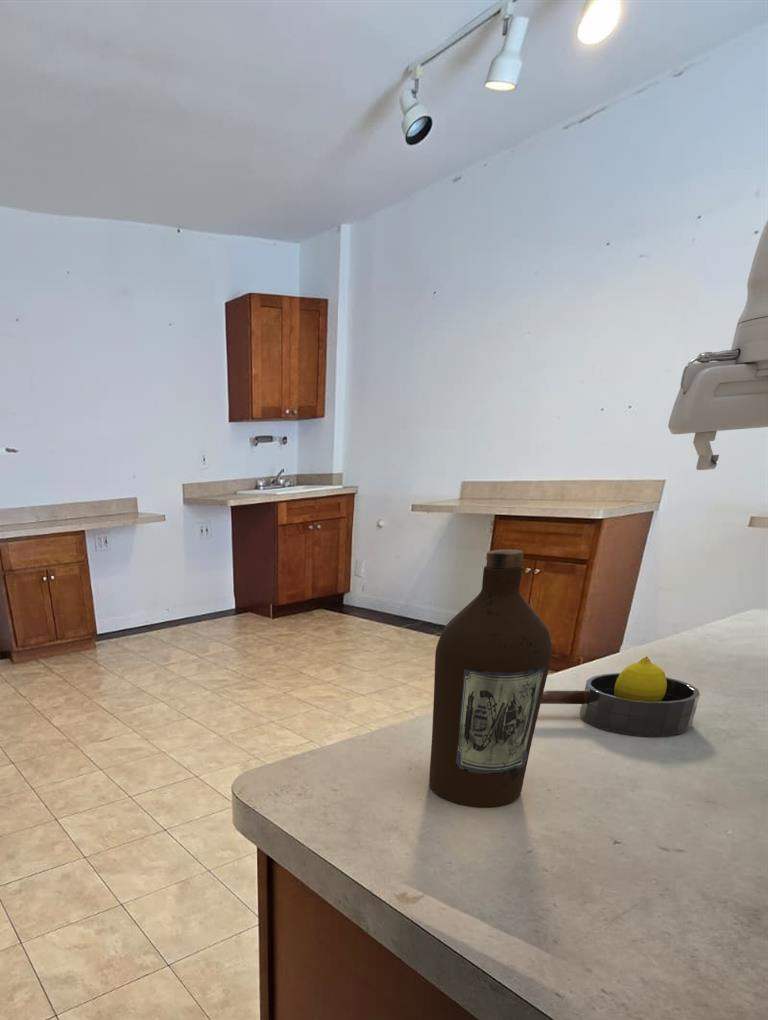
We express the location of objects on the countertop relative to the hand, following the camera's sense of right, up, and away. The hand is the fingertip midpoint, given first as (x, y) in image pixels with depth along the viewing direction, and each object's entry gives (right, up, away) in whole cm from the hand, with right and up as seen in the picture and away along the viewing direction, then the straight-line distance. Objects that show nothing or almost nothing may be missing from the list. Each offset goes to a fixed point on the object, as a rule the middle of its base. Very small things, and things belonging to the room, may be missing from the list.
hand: (742, 466), depth 86 cm
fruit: (-16, -34, -2) cm, 38 cm away
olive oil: (-43, -43, -16) cm, 63 cm away
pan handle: (-27, -32, 0) cm, 42 cm away
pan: (-16, -34, -2) cm, 38 cm away
